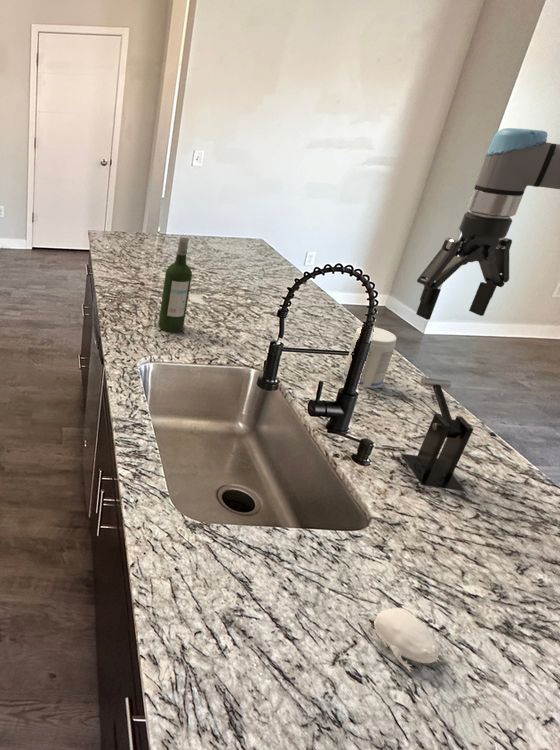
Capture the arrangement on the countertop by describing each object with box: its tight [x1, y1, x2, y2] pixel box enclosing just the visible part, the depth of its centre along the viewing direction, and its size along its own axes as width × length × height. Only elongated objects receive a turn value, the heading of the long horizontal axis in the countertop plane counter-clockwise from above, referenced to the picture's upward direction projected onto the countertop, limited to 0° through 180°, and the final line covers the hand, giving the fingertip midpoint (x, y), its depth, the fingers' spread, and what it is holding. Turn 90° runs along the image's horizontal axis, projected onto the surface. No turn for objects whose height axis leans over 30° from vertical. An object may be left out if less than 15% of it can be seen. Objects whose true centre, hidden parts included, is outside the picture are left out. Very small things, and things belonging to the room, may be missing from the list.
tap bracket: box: [400, 413, 474, 492], centre depth 109 cm, size 10×8×14 cm
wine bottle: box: [158, 235, 193, 333], centre depth 167 cm, size 8×8×30 cm
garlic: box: [373, 607, 442, 673], centre depth 77 cm, size 8×7×4 cm
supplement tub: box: [342, 326, 398, 389], centre depth 143 cm, size 10×10×15 cm
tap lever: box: [420, 377, 462, 438], centre depth 110 cm, size 13×5×2 cm, turn 170°
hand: (449, 315), depth 112 cm, fingers open, 13 cm apart
